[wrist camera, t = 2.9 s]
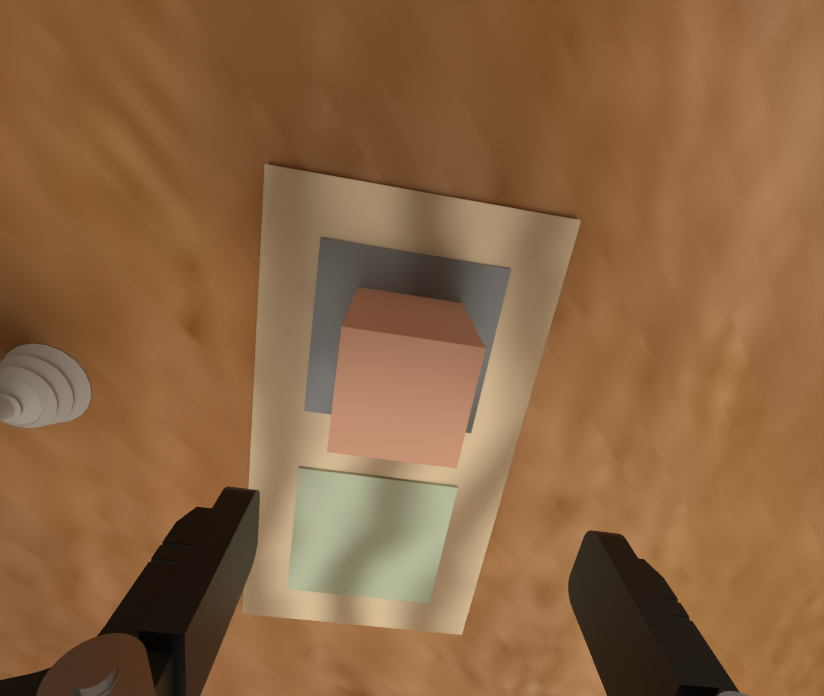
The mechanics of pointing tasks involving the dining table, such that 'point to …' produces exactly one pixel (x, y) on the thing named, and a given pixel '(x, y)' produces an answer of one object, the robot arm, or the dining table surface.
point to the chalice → (41, 387)
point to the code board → (315, 380)
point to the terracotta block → (404, 379)
